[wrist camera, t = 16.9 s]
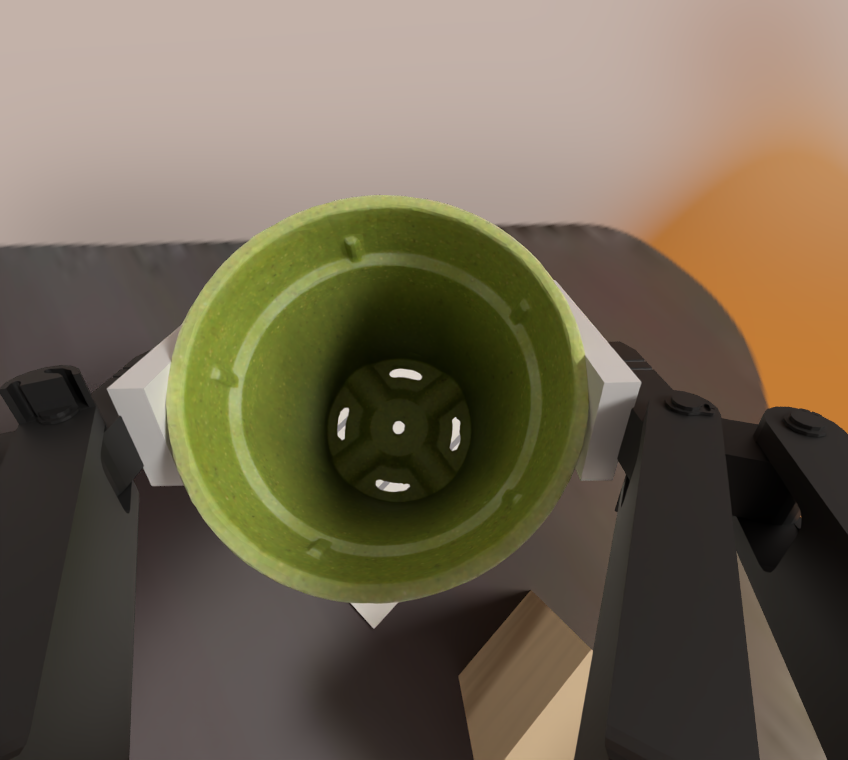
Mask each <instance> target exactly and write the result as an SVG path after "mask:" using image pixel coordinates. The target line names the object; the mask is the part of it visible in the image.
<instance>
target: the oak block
mask: <svg viewBox="0 0 848 760" xmlns="http://www.w3.org/2000/svg"><path fill="white" fill-rule="evenodd" d="M592 654H593V651H592V650H591V649H590V648H589V647H588V646H587V645H586V644H585V643H584V642H583V641H582V640H581V639H580V638H579V637H578V636H577V635H576V634H575V633H574V632H573V631H572V630H571V629H570V628H569V627H568V626H567V625H566V624H565V623H564V622H563V621H562V620H561V619H560V618H559V617H558V616H557V615H556V614H555V613H554V612H553V611H552V610H551V609H550V608H549V607H548V606H547V605H546V604H545V603H544V602H543V601H542V600H541V599H540V598H539V597H538V596H536V595H535V594H534V593H533V592H532V591H531V590H530V592H529V593H528V594H527V595H526V596H525V598H524V599H523V600H522V601H521V602H520V603H519V605H518V606H517V607H516V608H515V609H514V611H513V612H512V613H511V614H510V615H509V616H508V618H507V619H506V620H505V621H504V622H503V624H502V625H501V626H500V627H499V628H498V630H497V631H496V632H495V633H494V634H493V635H492V637H491V638H490V639H489V640H488V641H487V643H486V644H485V645H484V646H483V647H482V649H481V650H480V651H479V652H478V653H477V654H476V656H475V657H474V658H473V659H472V660H471V662H470V663H469V664H468V665H467V666H466V667H465V669H464V670H463V671H462V672H461V673H460V675H459V676H458V677H459V682H460V687H461V693H462V698H463V704H464V709H465V714H466V720H467V725H468V731H469V736H470V741H471V747H472V752H473V758H474V760H574V756H575V750H576V745H577V739H578V733H579V728H580V722H581V716H582V711H583V705H584V699H585V694H586V688H587V682H588V677H589V671H590V665H591V660H592Z"/></svg>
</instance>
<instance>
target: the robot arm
mask: <svg viewBox="0 0 848 760" xmlns="http://www.w3.org/2000/svg"><path fill="white" fill-rule="evenodd" d="M553 281H554V282H555V284H556V285H557V287H558V288H559V289H560V291H561V292H562V293H563V295H564V296H565V298H566V300H567V302H568V304H569V306H570V309H571V311H572V313H573V315H574V317H575V320H576V323H577V325H578V328H579V331H580V335H581V339H582V343H583V347H584V350H585V359H586V369H587V378H588V389H589V413H588V422H587V429H586V434H585V438H584V443H583V447H582V451H581V453H580V456H579V459H578V462H577V465H576V467H575V469H576V471H577V473H578V476H579V478H580V480H581V481H587V480H613V477H614V474H615V470H616V467H617V463H618V461H619V463H620V464H621V466H622V468H623V470H624V471H625V473H626V476H625V479H624V483H623V486H622V489H621V492H620V495H619V498H618V502H617V505H616V508H615V511H617V512H618V513H617V518H616V524H615V530H614V535H613V541H612V547H611V552H610V558H609V564H608V569H607V575H606V581H605V586H604V592H603V598H602V603H601V609H600V615H599V620H598V626H597V631H596V637H595V643H594V648H593V654H592V660H591V665H590V671H589V677H588V682H587V688H586V694H585V699H584V705H583V711H582V716H581V722H580V728H579V733H578V739H577V745H576V750H575V756H574V760H760V758H759V749H758V741H757V732H756V723H755V714H754V705H753V696H752V687H751V678H750V670H749V661H748V652H747V643H746V634H745V625H744V616H743V607H742V599H741V590H740V581H739V572H738V563H737V554H736V551H737V553H738V556H739V558H740V560H741V563H742V565H743V567H744V570H745V572H746V574H747V576H748V579H749V581H750V583H751V586H752V588H753V590H754V592H755V595H756V597H757V599H758V602H759V604H760V606H761V608H762V611H763V613H764V615H765V618H766V620H767V622H768V625H769V627H770V629H771V631H772V634H773V636H774V638H775V641H776V643H777V645H778V647H779V650H780V652H781V654H782V657H783V659H784V661H785V663H786V666H787V668H788V670H789V673H790V675H791V677H792V680H793V682H794V684H795V686H796V689H797V691H798V693H799V696H800V698H801V700H802V702H803V705H804V707H805V709H806V712H807V714H808V716H809V719H810V721H811V723H812V725H813V728H814V730H815V732H816V735H817V737H818V739H819V741H820V744H821V746H822V748H823V751H824V753H825V755H826V757H827V760H848V434H847V433H846V432H845V431H844V430H843V429H842V428H840V427H839V426H838V425H837V424H835V423H834V422H832V421H830V420H828V419H826V418H824V417H822V415H820V414H818V413H815V412H810V411H809V410H805V409H797V408H792V407H773V408H770V409H767V410H766V411H765V413H764V414H763V416H762V418H761V420H760V423H759V425H758V424H752V423H746V422H740V421H734V420H728V419H723V418H721V414H720V412H719V410H718V408H717V407H715V406H714V405H713V404H712V403H711V402H709V401H708V400H706V399H704V398H702V397H700V396H698V395H694V394H691V393H688V392H684V391H676V390H672V388H671V387H670V386H669V385H668V384H667V383H666V382H665V381H664V380H663V379H662V378H661V377H660V376H659V375H658V374H657V372H656V371H655V370H652V367H651V366H650V365H649V364H648V363H647V362H644V359H643V358H642V356H641V355H640V354H639V353H638V352H637V351H636V350H635V349H633V348H631V347H629V346H627V345H625V344H624V343H622V342H607V341H606V340H605V338H604V337H603V336H602V335H601V334H600V333H599V331H598V330H597V329H596V328H595V327H594V325H593V324H592V323H591V322H590V321H589V319H588V318H587V317H586V316H585V315H584V314H583V312H582V311H581V310H580V309H579V308H578V306H577V305H576V304H575V303H574V302H573V301H572V299H571V298H570V297H569V296H568V295H567V293H566V292H565V291H564V290H563V289H562V288H561V286H560V285H559V284H558V283H557V282H556V280H553ZM181 326H182V325H181ZM181 326H179V327H178V328H177V329H176V330H175V331H174V332H172V333H171V334H170V335H169V336H168V337H167V338H165V339H164V340H163V341H162V342H161V343H160V344H158V345H157V346H156V347H155V348H154V349H151V350H149V351H147V352H145V353H143V354H141V355H139V356H137V357H135V358H134V359H133V360H131V361H130V362H129V363H128V364H127V365H125V366H124V367H123V369H121V370H119V371H118V372H117V373H116V374H115V375H113V378H110V379H108V380H107V381H106V382H105V383H104V384H102V385H101V386H100V387H99V388H98V389H96V390H95V391H94V392H93V393H92V394H91V393H90V391H89V389H88V387H87V385H86V383H85V381H84V379H83V377H82V375H81V372H80V370H79V368H76V367H74V366H64V365H59V366H52V367H45V368H41V369H37V370H34V371H30V372H28V373H25V374H22V375H20V376H17V377H15V378H13V379H12V380H10V381H8V382H6V383H5V384H4V385H3V386H2V387H1V388H0V394H1V396H2V397H3V399H4V401H5V402H6V404H7V405H8V407H9V409H10V410H11V412H12V413H13V415H14V417H15V418H16V420H17V422H18V423H19V426H18V428H17V430H16V431H13V432H8V433H2V434H0V760H129V750H130V724H131V697H132V671H133V645H134V618H135V592H136V565H137V539H138V513H139V492H138V489H137V487H136V485H135V483H134V481H133V479H134V478H135V477H136V475H137V474H138V473H139V472H140V470H141V469H142V468H144V471H145V473H146V475H147V477H148V479H149V481H150V484H151V486H184V485H183V482H182V479H181V477H180V474H179V472H178V470H177V467H176V463H175V460H174V458H173V453H172V448H171V444H170V438H169V432H168V424H167V412H166V392H167V384H168V377H169V371H170V364H171V359H172V354H173V351H174V347H175V344H176V341H177V337H178V334H179V331H180V329H181ZM800 516H801V517H800Z"/></svg>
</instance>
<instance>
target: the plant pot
mask: <svg viewBox="0 0 848 760" xmlns="http://www.w3.org/2000/svg"><path fill="white" fill-rule="evenodd" d="M395 369H406V370H413V371H416V372H418V373H420V374H421V376H422V378H421V379H420V380H415V379H410V378H406V377H396V378H395V377H391V376H390V375H389V374H390V372H392V370H395ZM344 408H349V413H348V417H347V420H346V424H345V439H343V440H341V438H339V437H338V431H337V429H338V418H339V415H340V412H341V411H342V410H343V409H344ZM166 412H167V424H168V432H169V438H170V444H171V448H172V453H173V458H174V460H175V463H176V467H177V470H178V472H179V474H180V477H181V479H182V482H183V485H184V487H185V488H186V490H187V492H188V494H189V496H190V498H191V500H192V503H193V504H194V505H195V507H196V508H197V510H198V511H199V513H200V514H201V516H202V517H203V519H204V520H205V522H206V523H207V525H208V526H209V527H210V528H211V529H212V531H213V532H214V533H215V534H216V535H217V536H218V538H219V539H220V540H221V541H222V542H223V543H224V544H225V545H226V546H227V547H228V548H229V549H230V550H231V551H232V552H233V553H234V554H235V555H236V556H237V557H239V558H240V559H241V560H242V561H244V562H245V563H246V564H248V565H249V566H251V567H252V568H254V569H255V570H257V571H258V572H260V573H262V574H263V575H265V576H267V577H268V578H270V579H272V580H274V581H276V582H278V583H280V584H283V585H285V586H287V587H289V588H292V589H295V590H298V591H301V592H303V593H306V594H309V595H313V596H315V597H319V598H324V599H328V600H332V601H339V602H347V603H374V604H382V603H394V602H403V601H410V600H415V599H419V598H423V597H427V596H430V595H433V594H437V593H440V592H443V591H446V590H449V589H451V588H454V587H456V586H458V585H461V584H463V583H466V582H468V581H470V580H472V579H474V578H476V577H478V576H480V575H481V574H483V573H485V572H487V571H488V570H490V569H491V568H493V567H495V566H497V565H498V564H499V563H501V562H502V561H503V560H505V559H506V558H507V557H508V556H510V555H511V554H512V553H513V552H515V551H516V550H517V549H518V548H519V547H520V546H521V545H522V544H523V543H524V542H526V541H527V540H528V539H529V538H530V537H531V536H532V534H533V533H534V532H535V531H536V530H537V529H538V528H539V527H540V526H541V524H542V523H543V522H544V521H545V519H546V518H547V517H548V516H549V514H550V513H551V511H552V510H553V508H554V507H555V505H556V504H557V502H558V500H559V499H560V497H561V495H562V494H563V492H564V490H565V488H566V486H567V484H568V483H569V481H570V478H571V476H572V474H573V472H574V469H575V467H576V465H577V462H578V459H579V456H580V453H581V451H582V447H583V443H584V438H585V434H586V429H587V422H588V413H589V389H588V378H587V369H586V359H585V350H584V347H583V343H582V339H581V335H580V331H579V328H578V325H577V323H576V320H575V317H574V315H573V313H572V311H571V309H570V306H569V304H568V302H567V300H566V298H565V296H564V295H563V293H562V292H561V291H560V289H559V288H558V287H557V285H556V284H555V282H554V281H553V279H552V277H551V276H550V275H549V274H548V272H547V271H546V270H545V269H544V267H543V266H542V264H541V263H540V262H539V261H538V260H537V259H536V258H535V257H534V256H533V255H532V254H531V253H530V252H529V251H528V250H527V249H526V248H525V247H524V246H522V245H521V244H520V243H519V242H517V241H516V240H515V239H514V238H513V237H511V236H510V235H509V234H507V233H506V232H504V231H503V230H502V229H500V228H499V227H497V226H496V225H494V224H492V223H490V222H488V221H486V220H484V219H483V218H481V217H479V216H476V215H474V214H473V213H470V212H467V211H465V210H462V209H460V208H457V207H454V206H451V205H448V204H444V203H441V202H438V201H432V200H428V199H419V198H412V197H406V196H387V195H373V196H361V197H352V198H346V199H341V200H336V201H333V202H331V203H326V204H323V205H318V206H315V207H312V208H309V209H307V210H304V211H301V212H299V213H296V214H294V215H292V216H289V217H288V218H285V219H284V220H282V221H280V222H278V223H277V224H275V225H273V226H271V227H269V228H267V229H265V230H264V231H262V232H260V233H259V234H257V235H255V236H254V237H252V238H251V239H250V240H249V241H248V242H247V243H245V244H244V245H243V246H242V247H240V248H239V249H238V250H237V251H236V252H234V253H233V254H232V255H231V256H230V257H229V258H228V259H227V260H226V261H225V262H224V263H223V264H222V265H221V266H220V268H219V269H218V270H217V271H216V272H215V274H214V275H213V276H212V278H211V279H210V280H209V281H208V283H207V284H206V285H205V286H204V288H203V289H202V291H201V292H200V294H199V296H198V297H197V299H196V301H195V302H194V304H193V305H192V307H191V308H190V310H189V312H188V314H187V316H186V318H185V320H184V322H183V324H182V326H181V329H180V331H179V334H178V337H177V341H176V344H175V347H174V351H173V354H172V359H171V364H170V371H169V377H168V384H167V392H166ZM455 417H456V418H457V419H458V420H459V421H460V430H459V433H460V443H459V445H458V448H457V449H456V450H453V451H452V450H451V449H450V444H451V438H452V430H453V423H452V420H453V419H454V418H455ZM397 421H401V422H402V423H403V424H404V425H405V427H404V432H402V433H401V434H396V433H395V432H394V431H393V425H394V424H395V422H397ZM377 480H383V481H386V482H391V483H398V484H399V483H402V484H409V485H410V487H408V488H407V490H404V491H397V492H389V491H384V490H380V489H379V488H378V487H377V486H376V481H377Z"/></svg>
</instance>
